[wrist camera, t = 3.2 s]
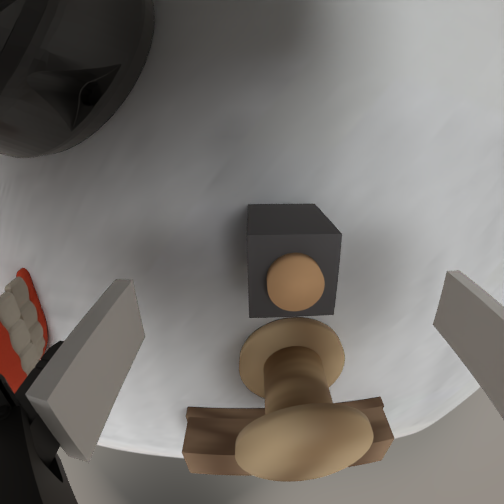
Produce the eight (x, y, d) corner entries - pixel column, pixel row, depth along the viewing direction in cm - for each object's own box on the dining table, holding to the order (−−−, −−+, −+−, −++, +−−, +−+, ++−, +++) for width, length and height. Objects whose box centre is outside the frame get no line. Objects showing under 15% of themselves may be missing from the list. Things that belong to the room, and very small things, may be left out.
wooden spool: (241, 394, 24) (238, 483, 16) (237, 318, 21) (229, 418, 13) (334, 389, 24) (356, 473, 16) (348, 314, 21) (390, 404, 13)
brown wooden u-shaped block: (194, 430, 26) (187, 472, 21) (187, 406, 25) (178, 451, 20) (370, 421, 26) (383, 459, 21) (380, 396, 24) (396, 437, 20)
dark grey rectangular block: (250, 265, 20) (249, 327, 13) (248, 204, 18) (246, 241, 12) (311, 264, 20) (337, 323, 13) (314, 203, 18) (347, 240, 12)
